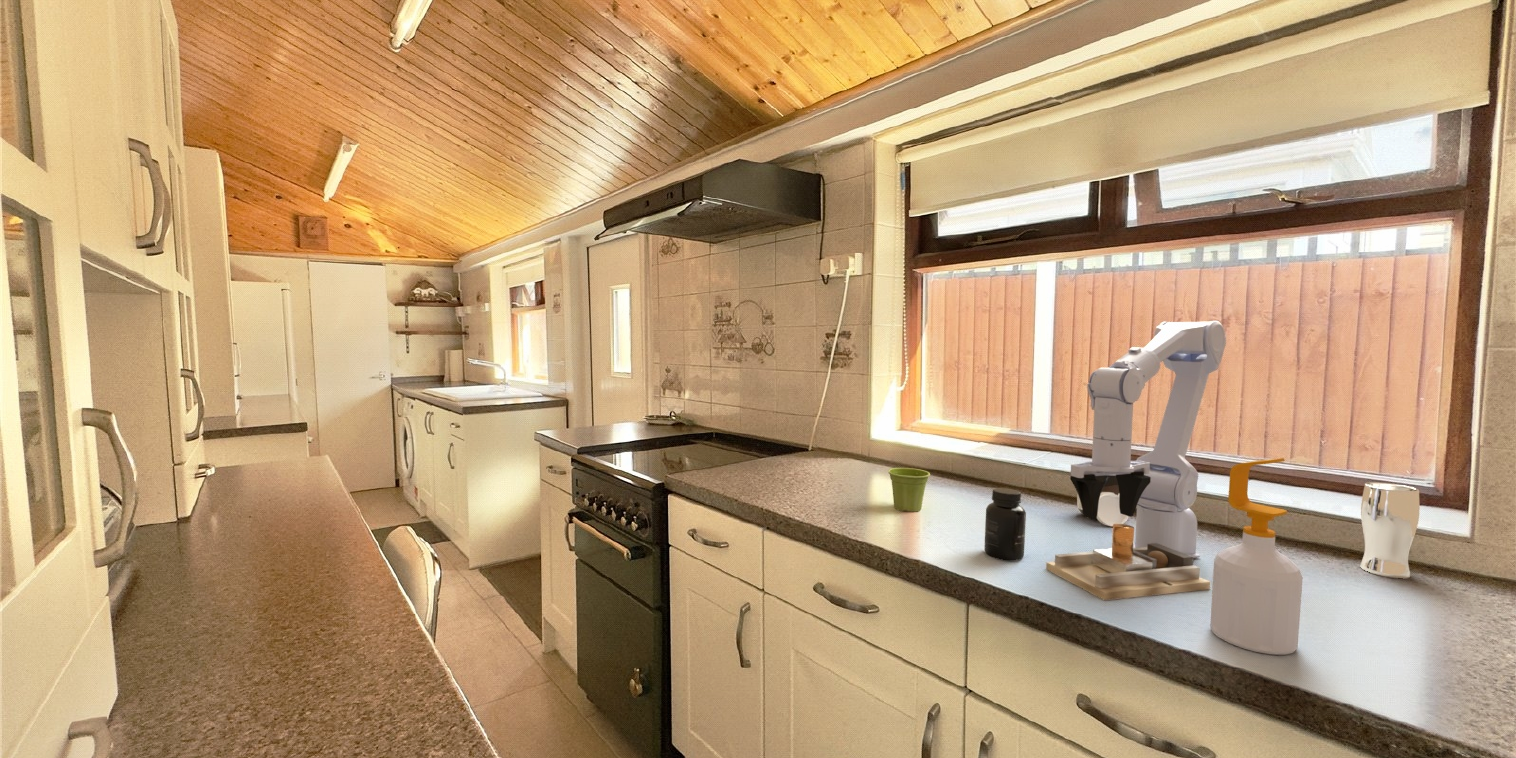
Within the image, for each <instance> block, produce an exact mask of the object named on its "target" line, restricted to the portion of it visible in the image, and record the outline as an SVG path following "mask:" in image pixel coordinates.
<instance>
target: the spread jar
mask: <svg viewBox="0 0 1516 758" xmlns="http://www.w3.org/2000/svg"><path fill="white" fill-rule="evenodd" d="M1095 478H1097V480H1098V481H1102V482H1104V483H1105V484H1104V486H1103V488H1102V491H1101V494H1100V498H1099V503H1098V514H1097V518H1096V520H1095V521H1098V522H1099V523H1100V524H1102V525H1104V526H1107V527H1113V524H1126V522H1127V520H1128V519H1129V516H1127V515H1124V514H1121V513H1120V508H1119V487H1118V482H1117V478H1116V475H1103V476H1095ZM1076 493H1077V492H1076ZM1076 504H1077V508H1078V509H1077V510H1078V511H1079V512H1080V513H1081V515H1083V516H1084V514H1083V510H1082V505H1081V502H1080V498H1079V495H1078V493H1077V495H1076Z"/></svg>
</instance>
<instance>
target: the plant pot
mask: <svg viewBox="0 0 1516 758" xmlns="http://www.w3.org/2000/svg"><path fill="white" fill-rule="evenodd" d="M887 472H888V474H889V477H890V481H891V487H892V499H893V506H894V509H896V510H898V511H901V512H905V511H908V512H912V513H914V512H919V511H921V510H922V507H923V501H924V496H925V489H926V485H927V482H928V479H929V477H930V476H931V473H930V472H929V471H927V470H923V469H918V468H913V467H912V468H910V467H895V468H894V467H893V468H890V469H888V471H887Z"/></svg>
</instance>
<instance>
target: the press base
mask: <svg viewBox="0 0 1516 758" xmlns="http://www.w3.org/2000/svg"><path fill="white" fill-rule="evenodd" d="M1133 550H1134V551H1137V552H1139V553H1142V554H1144V555H1147V556H1149V557H1151V558H1154V559H1156V560H1157V563H1156V569H1150V570H1140V571H1129V572H1118V573H1111V572H1109V571H1107V570H1105V569H1103V568H1100V567H1098V566H1096V565H1094V564H1093V551H1085V552H1072V553H1060V554H1054V555H1055V556H1054V557H1055V558H1054V561H1047V562H1045V563H1046V564H1045V569H1046V570H1047V571H1049V572H1051V573H1053V574H1055V575H1057V576H1058V577H1061V579H1064V580H1066V581H1068V582H1069V581H1070V582H1069V583H1071V582H1072V583H1071V584H1073V585H1075V586H1077V587H1079V588H1081V589H1082V588H1083V589H1082V590H1084V591H1086V592H1088V593H1090V594H1092V595H1094V596H1096V597H1097V596H1098V598H1099V599H1101V600H1103V601H1110V600H1111V601H1112V600H1120V599H1128V598H1131V599H1132V598H1138V597H1148V596H1157V595H1165V594H1166V595H1167V594H1176V593H1185V592H1193V591H1194V592H1195V591H1204V590H1210V589H1211V581H1209V580H1207V579H1205V578H1202V577H1200V569H1201V568H1200V567H1199V566H1196V565H1194V558H1193V557H1192V556H1189V555H1187V554H1184V553H1181V552H1179V551H1176V550H1174V549H1171V548H1168V547H1166V546H1163V545H1160V544H1158V543H1151V544H1148V545H1147V547H1141V548H1133Z"/></svg>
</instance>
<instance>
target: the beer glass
mask: <svg viewBox="0 0 1516 758" xmlns="http://www.w3.org/2000/svg"><path fill="white" fill-rule="evenodd" d="M1360 504H1361V506H1360V517H1361V518H1360V519H1361V524H1362V525H1361V526H1362V532H1363V539H1364V552H1363V553H1364V554H1363V556H1362V560H1361V562H1360V566H1359V567H1361V568H1362V569H1361V568H1360V569H1361V570H1362V571H1364V570H1365V572H1367V571H1368V572H1367V573H1369V572H1370V574H1372V575H1376V576H1380V577H1385V578H1389V579H1390V578H1392V579H1398V578H1403V579H1404V580H1405V579H1410V577H1411V571H1410V566H1409V555H1410V554H1409V553H1410V549H1411V546H1412V543H1413V541H1414V538H1415V535H1416V533H1417V532H1416V531H1417V529H1418V525H1419V521H1420V520H1419V519H1420V508H1421V507H1420V490H1419V489H1418V488H1416V487H1413V486H1407V485H1402V484H1396V483H1391V482H1390V483H1388V482H1379V481H1377V482H1375V481H1374V482H1373V481H1370V482H1365V483H1364V487H1363V492H1362V498H1361V503H1360Z"/></svg>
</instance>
